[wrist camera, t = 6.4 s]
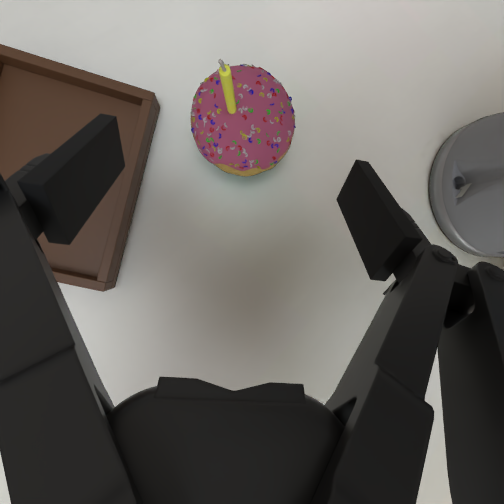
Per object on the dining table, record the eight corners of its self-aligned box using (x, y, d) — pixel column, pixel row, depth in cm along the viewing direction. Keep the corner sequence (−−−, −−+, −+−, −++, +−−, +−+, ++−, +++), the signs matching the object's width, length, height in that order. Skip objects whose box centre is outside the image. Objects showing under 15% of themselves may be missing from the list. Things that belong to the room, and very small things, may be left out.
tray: (4, 58, 22) (-21, 37, 20) (160, 107, 24) (154, 92, 22) (-48, 253, 22) (-78, 253, 20) (114, 287, 24) (103, 291, 22)
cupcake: (212, 198, 25) (207, 153, 13) (182, 113, 25) (148, -13, 13) (292, 171, 26) (355, 107, 14) (265, 90, 26) (306, -47, 14)
